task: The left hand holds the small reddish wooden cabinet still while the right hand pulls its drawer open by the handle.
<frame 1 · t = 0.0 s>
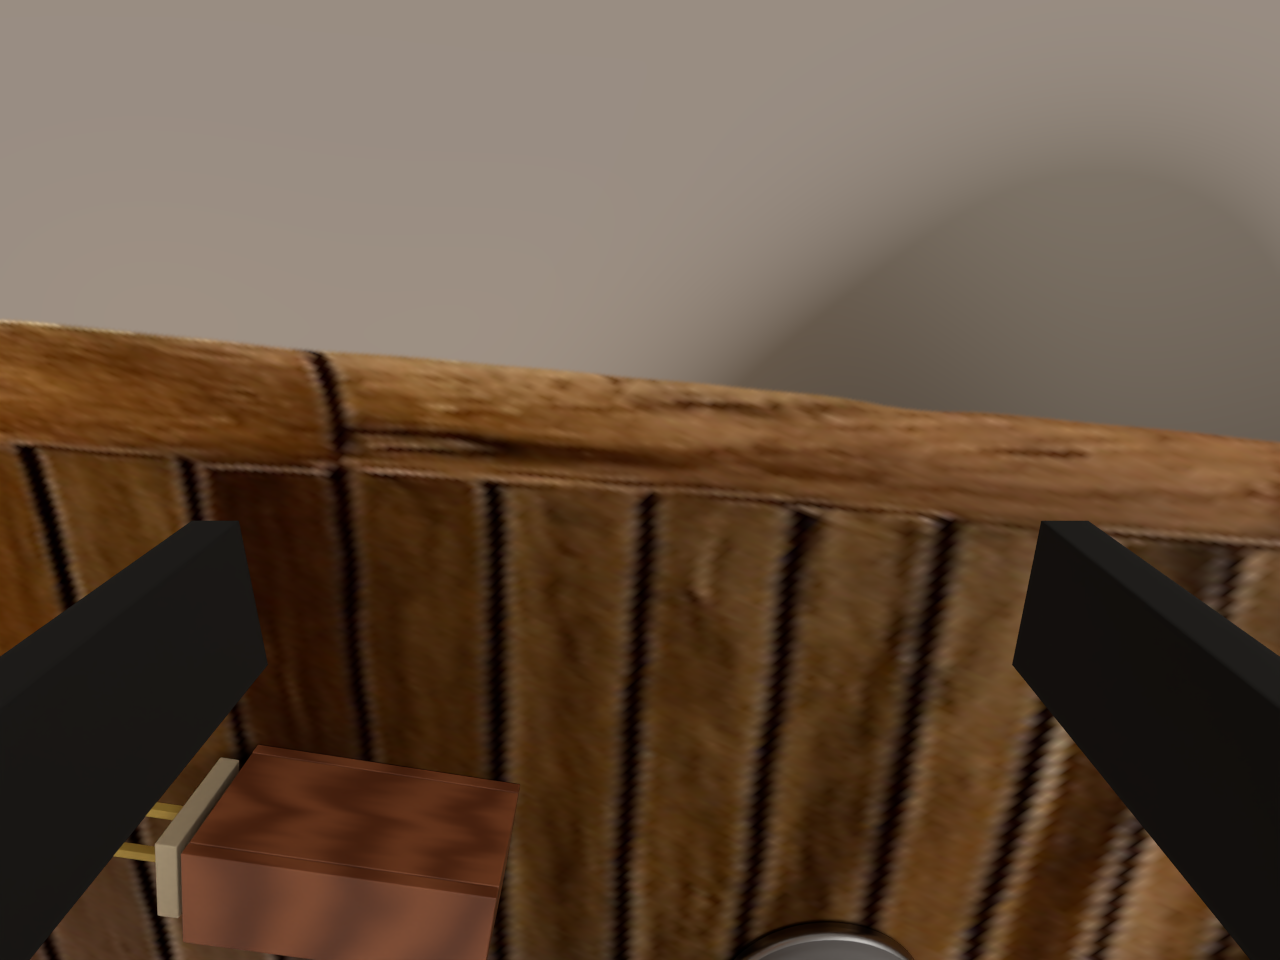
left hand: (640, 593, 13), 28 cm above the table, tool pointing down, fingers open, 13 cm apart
cabinet: (386, 803, 50), on the table
drawer: (276, 844, 45), point 4 cm above the table, slide at 0.7 cm
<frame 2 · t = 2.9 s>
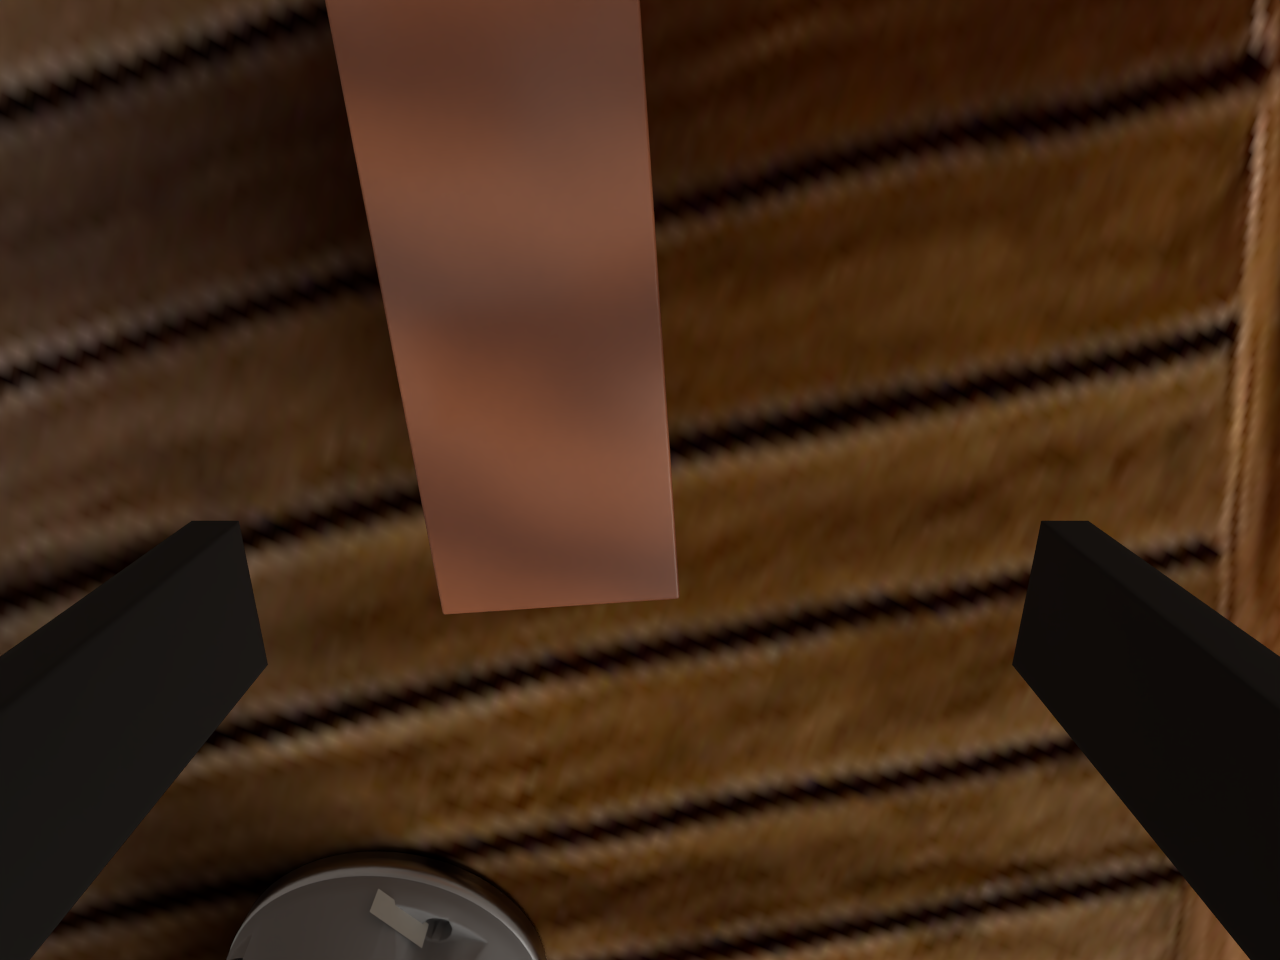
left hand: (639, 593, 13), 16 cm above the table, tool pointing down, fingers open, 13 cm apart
cabinet: (557, 267, 26), on the table
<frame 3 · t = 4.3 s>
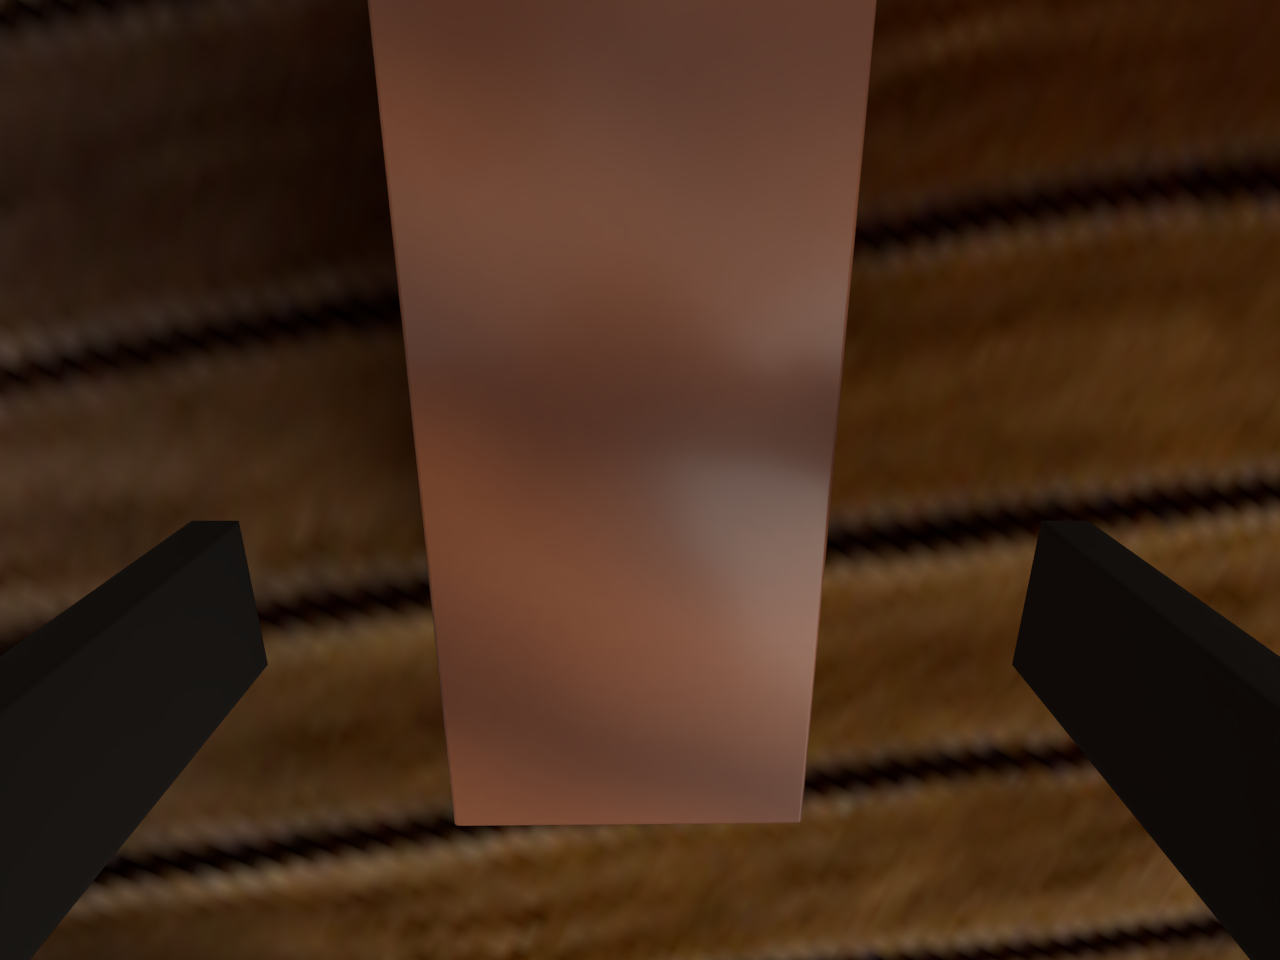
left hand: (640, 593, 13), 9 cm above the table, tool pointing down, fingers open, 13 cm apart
cabinet: (628, 315, 20), on the table
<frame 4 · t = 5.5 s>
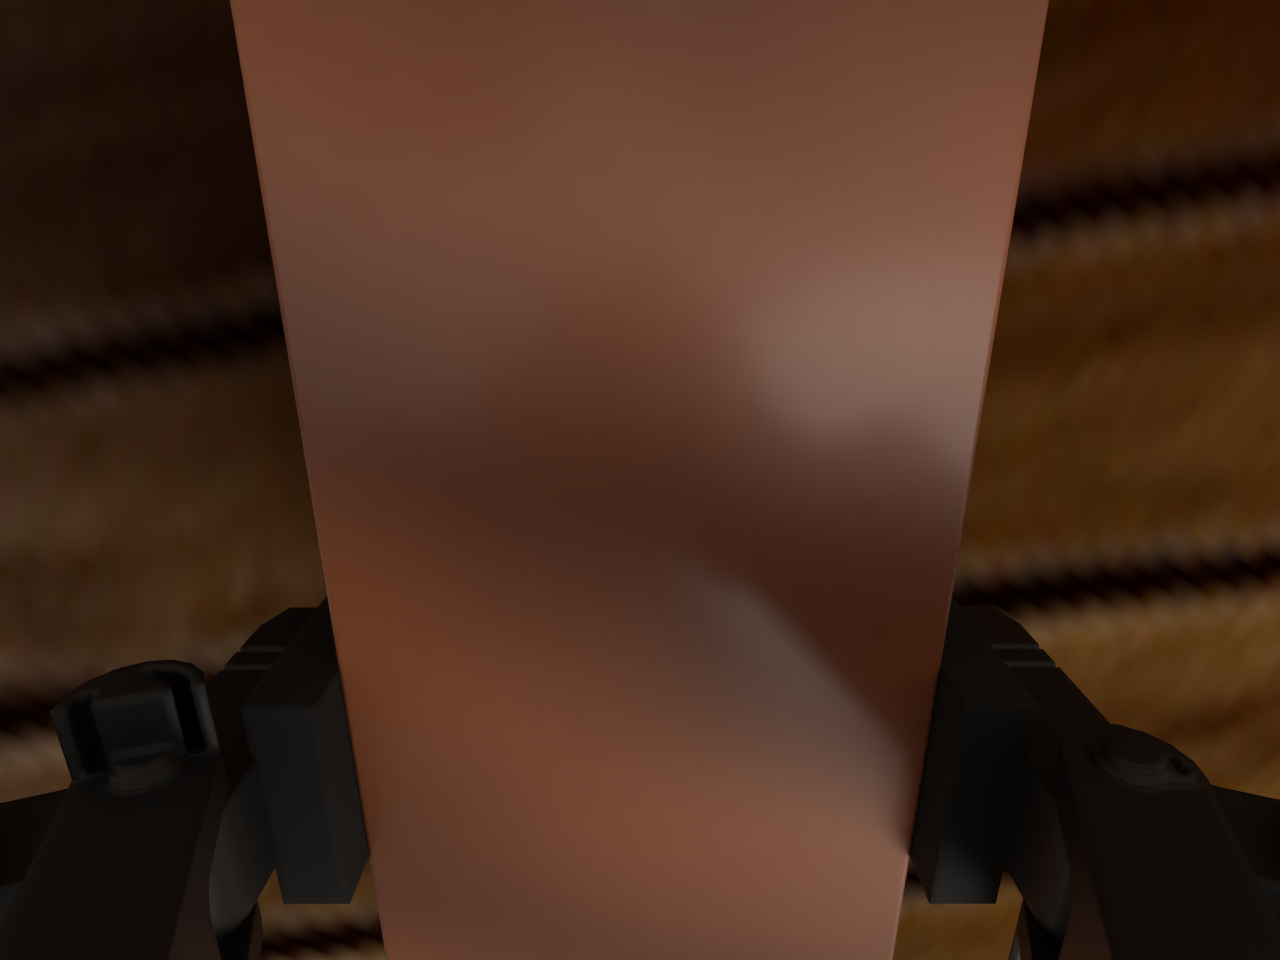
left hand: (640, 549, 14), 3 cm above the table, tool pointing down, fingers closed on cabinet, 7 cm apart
cabinet: (639, 330, 15), on the table, touching left hand
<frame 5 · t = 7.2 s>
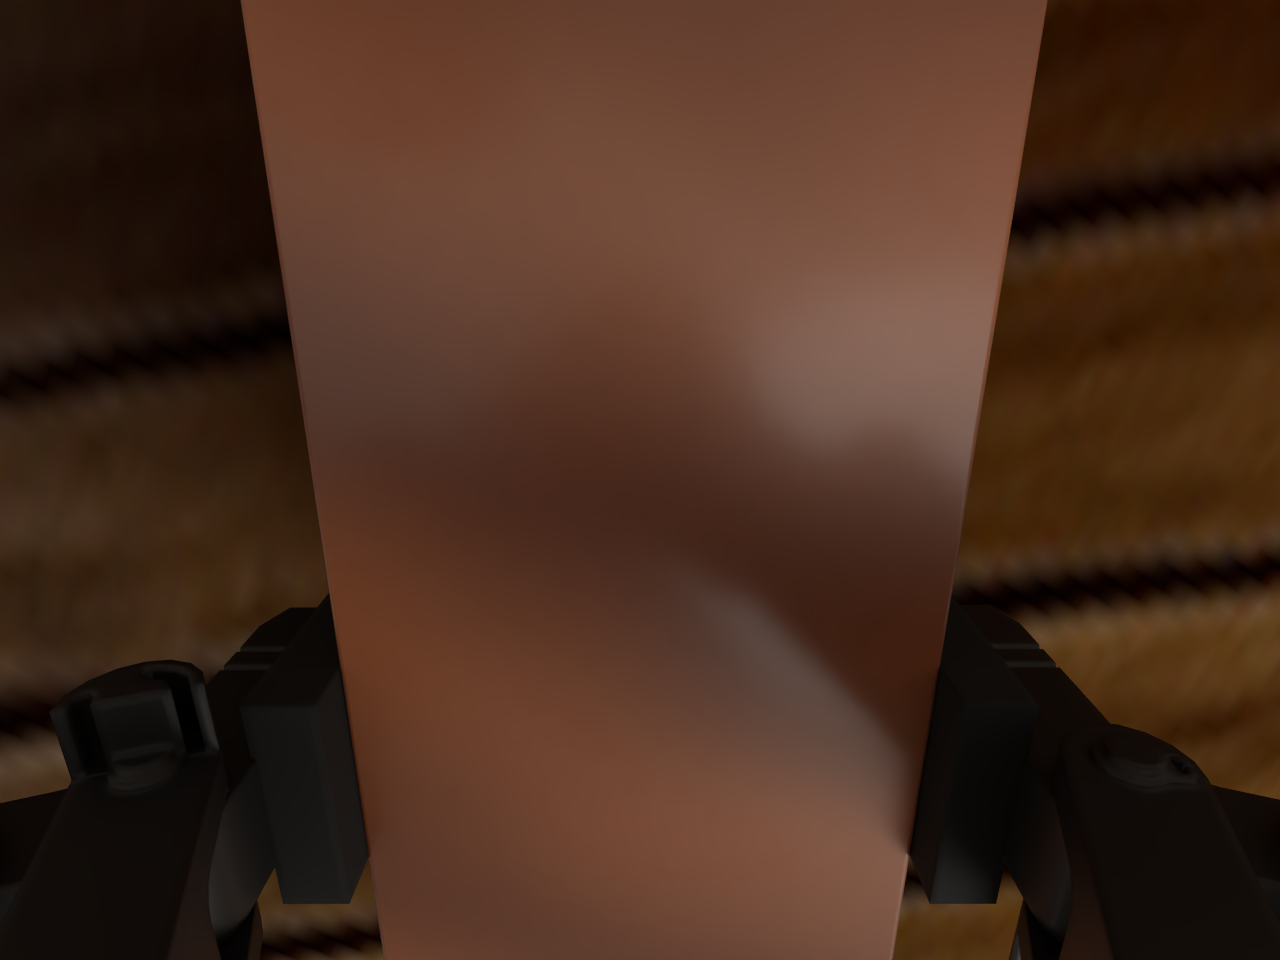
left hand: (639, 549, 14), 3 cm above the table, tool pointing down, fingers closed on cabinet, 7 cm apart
cabinet: (640, 333, 16), on the table, touching left hand
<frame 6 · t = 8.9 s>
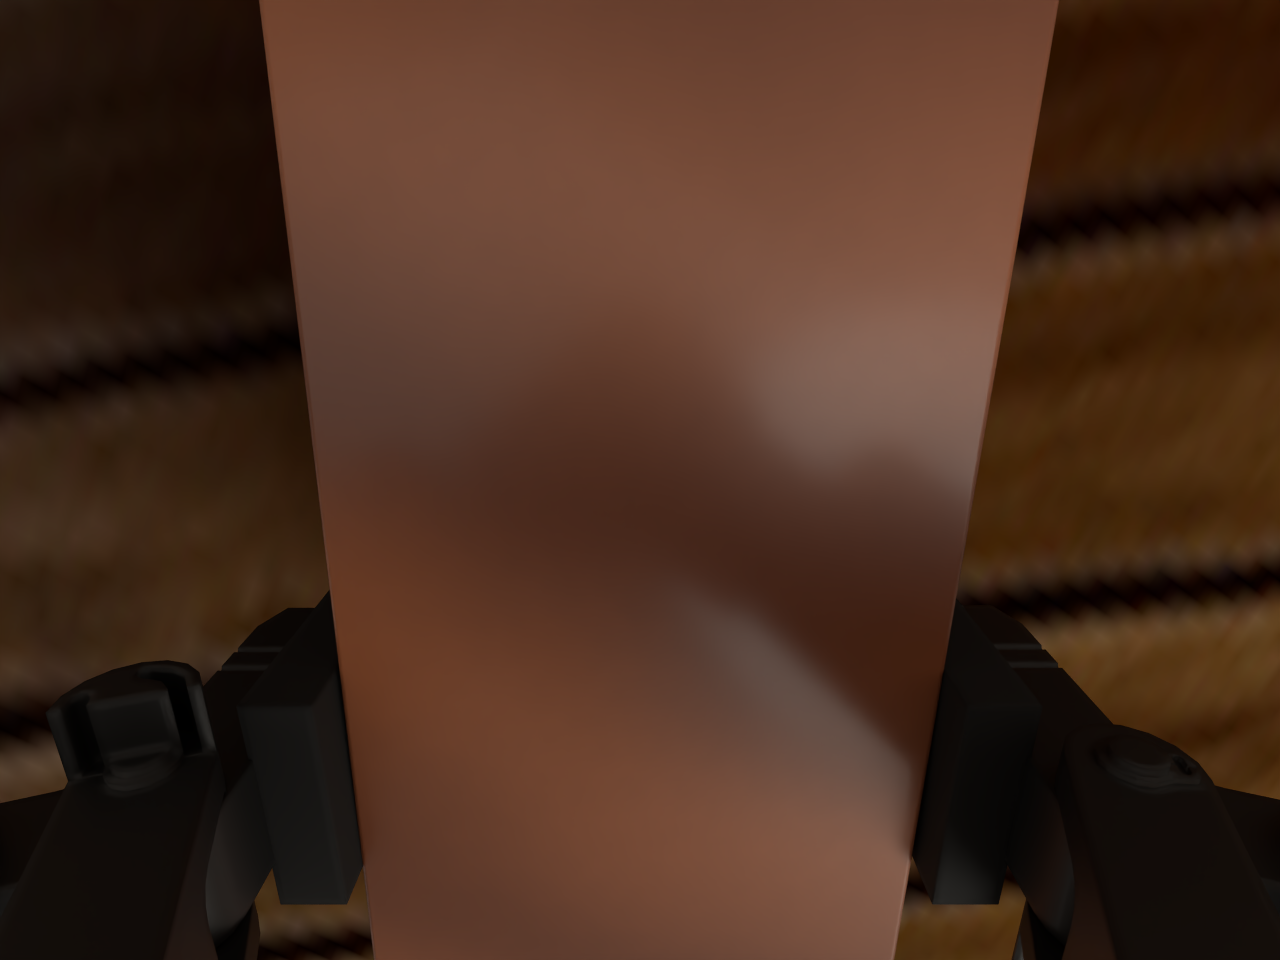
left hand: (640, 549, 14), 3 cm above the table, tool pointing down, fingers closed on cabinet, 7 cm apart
cabinet: (642, 340, 16), on the table, touching left hand
when the left hand's fingers open (3 cm above the table, at t = 10.2 s): cabinet stays where it is, on the table.
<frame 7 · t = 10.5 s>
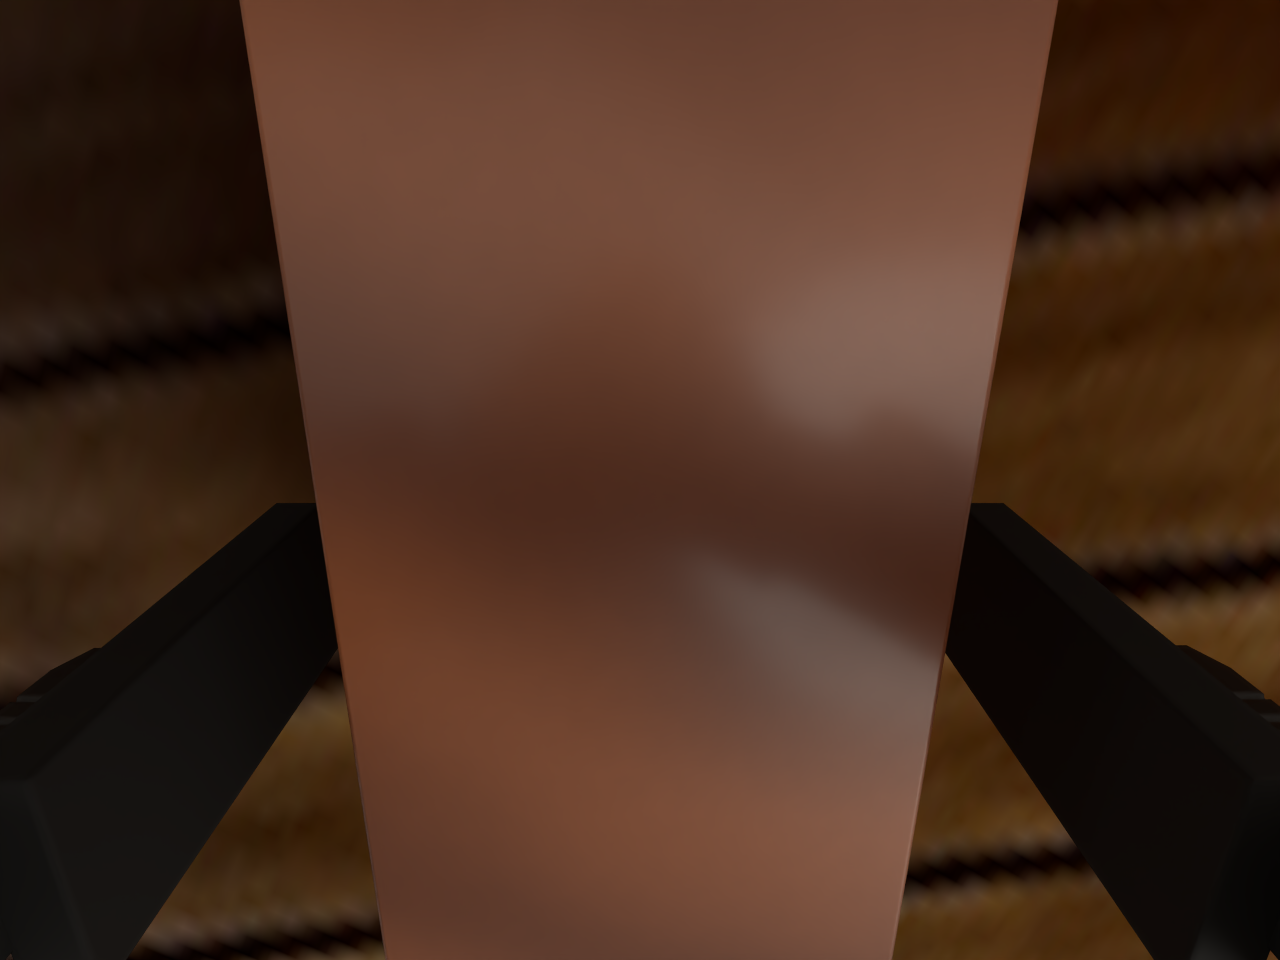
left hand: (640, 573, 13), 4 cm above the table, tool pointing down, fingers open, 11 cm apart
cabinet: (642, 330, 15), on the table
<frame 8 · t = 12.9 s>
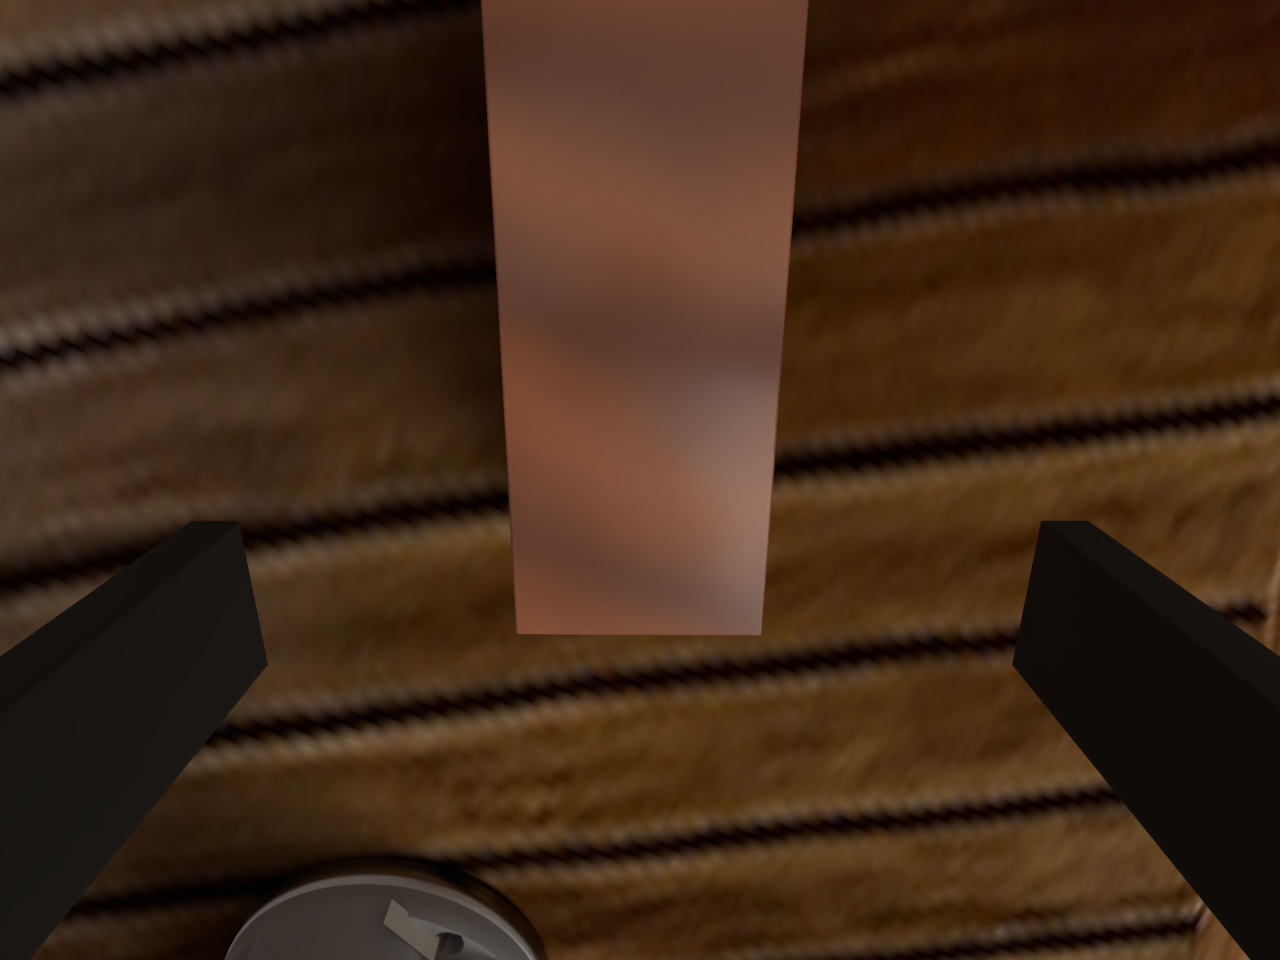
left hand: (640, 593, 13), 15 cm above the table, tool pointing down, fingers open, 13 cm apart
cabinet: (641, 281, 25), on the table
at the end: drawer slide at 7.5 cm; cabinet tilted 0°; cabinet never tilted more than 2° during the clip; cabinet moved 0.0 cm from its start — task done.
